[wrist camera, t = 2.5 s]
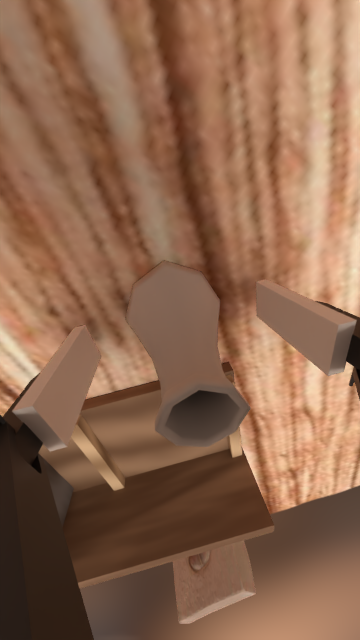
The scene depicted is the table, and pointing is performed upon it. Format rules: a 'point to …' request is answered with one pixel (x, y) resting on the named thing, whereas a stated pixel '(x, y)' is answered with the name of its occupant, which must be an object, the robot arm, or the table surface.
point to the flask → (185, 355)
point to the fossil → (212, 581)
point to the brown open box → (147, 489)
